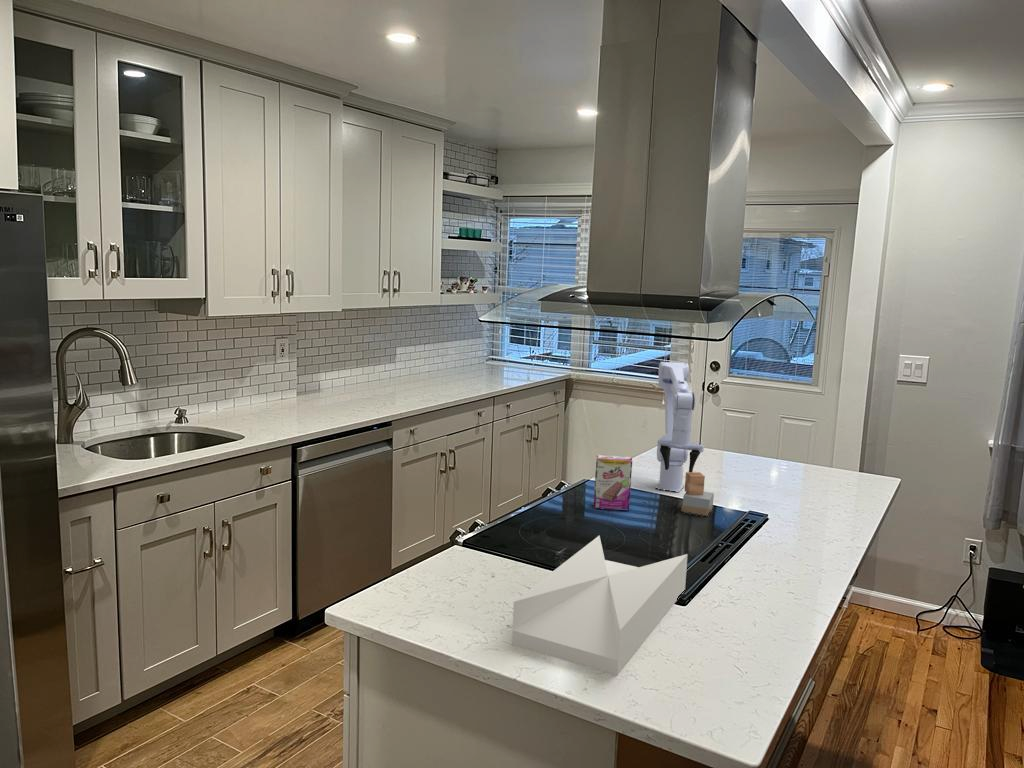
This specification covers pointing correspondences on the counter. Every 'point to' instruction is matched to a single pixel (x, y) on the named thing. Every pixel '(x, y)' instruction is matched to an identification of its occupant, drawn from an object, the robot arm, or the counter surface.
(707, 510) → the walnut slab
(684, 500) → the slate slab
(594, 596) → the white zigzag wedge
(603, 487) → the candy bar box
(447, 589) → the counter surface
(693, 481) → the terracotta block
